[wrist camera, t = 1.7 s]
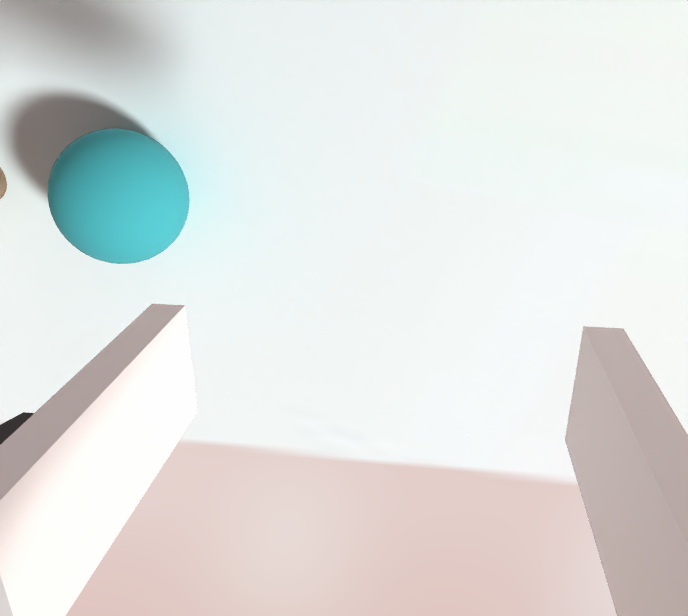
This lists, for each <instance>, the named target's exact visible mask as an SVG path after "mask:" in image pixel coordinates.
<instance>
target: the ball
mask: <svg viewBox="0 0 688 616" xmlns="http://www.w3.org/2000/svg"><path fill="white" fill-rule="evenodd" d="M48 201H49V207H50V211H51V214H52V217H53V219H54V221H55V223H56V225H57V227H58V229H59V230H60V232H61V233H62V234H63V235H64V237H65V238H66V239H67V240H68V241H69V242H70V243H71V244H72V245H73V246H75V247H76V248H77V249H79V250H80V251H82V252H83V253H85V254H87V255H89V256H91V257H93V258H95V259H98V260H101V261H105V262H110V263H117V264H126V263H136V262H140V261H144V260H147V259H150V258H152V257H154V256H156V255H158V254H159V253H161V252H162V251H164V250H165V249H166V248H167V247H169V246H170V245H171V244H172V243H173V242H174V241H175V239H176V238H177V237H178V235H179V234H180V232H181V230H182V228H183V226H184V224H185V221H186V219H187V214H188V209H189V191H188V185H187V182H186V178H185V176H184V174H183V171H182V169H181V167H180V166H179V164H178V162H177V161H176V160H175V158H174V157H173V156H172V155H171V153H170V152H169V151H168V150H167V149H166V148H164V147H163V146H162V145H161V144H160V143H158V142H157V141H155V140H154V139H152V138H150V137H148V136H146V135H144V134H141V133H138V132H135V131H131V130H126V129H116V128H114V129H103V130H98V131H93V132H91V133H88V134H86V135H83V136H81V137H80V138H78V139H76V140H75V141H74V142H72V143H71V144H70V145H69V146H67V147H66V148H65V149H64V151H63V152H62V153H61V154H60V156H59V157H58V159H57V160H56V162H55V163H54V166H53V168H52V170H51V174H50V178H49V182H48Z"/></svg>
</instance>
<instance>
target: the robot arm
mask: <svg viewBox="0 0 688 616" xmlns="http://www.w3.org/2000/svg"><path fill="white" fill-rule="evenodd" d="M197 412H198V407H197V399H196V391H195V383H194V374H193V366H192V358H191V350H190V342H189V334H188V326H187V318H186V310H185V306H184V305H165V304H151V305H150V306H149V307H148V308H147V309H146V310H145V311H144V312H143V313H142V314H141V315H140V316H139V317H137V318H136V319H135V320H134V321H133V322H132V323H131V324H130V325H129V326H128V327H127V328H126V329H125V330H123V331H122V332H121V333H120V334H119V335H118V336H117V337H116V338H115V339H114V340H113V341H112V342H111V343H109V344H108V345H107V346H106V347H105V348H104V349H103V350H102V351H101V352H100V353H99V354H98V355H97V356H96V357H94V358H93V359H92V360H91V361H90V362H89V363H88V364H87V365H86V366H85V367H84V368H83V369H82V370H80V371H79V372H78V373H77V374H76V375H75V376H74V377H73V378H72V379H71V380H70V381H69V382H68V383H66V384H65V385H64V386H63V387H62V388H61V389H60V390H59V391H58V392H57V393H56V394H55V395H54V396H53V397H51V398H50V399H49V400H48V401H47V402H46V403H45V404H44V405H43V406H42V407H41V408H40V409H39V410H37V411H36V412H35V413H24V412H23V413H22V414H20V415H18V416H16V417H14V418H12V419H10V420H9V421H7V422H5V423H3V424H1V425H0V616H65V615H66V614H67V612H68V611H69V609H70V608H71V606H72V605H73V603H74V602H75V600H76V599H77V597H78V595H79V594H80V592H81V591H82V589H83V588H84V586H85V585H86V583H87V582H88V580H89V579H90V577H91V575H92V574H93V572H94V571H95V569H96V568H97V566H98V565H99V563H100V562H101V560H102V558H103V557H104V555H105V554H106V552H107V551H108V549H109V548H110V546H111V545H112V543H113V541H114V540H115V538H116V537H117V535H118V534H119V532H120V531H121V529H122V528H123V526H124V524H125V523H126V522H127V520H128V518H129V517H130V515H131V514H132V512H133V511H134V509H135V508H136V506H137V505H138V503H139V502H140V500H141V498H142V497H143V495H144V494H145V492H146V491H147V489H148V487H149V486H150V485H151V483H152V481H153V480H154V478H155V477H156V475H157V474H158V472H159V471H160V469H161V468H162V466H163V464H164V463H165V461H166V460H167V458H168V457H169V455H170V454H171V452H172V451H173V449H174V448H175V446H176V445H177V443H178V441H179V440H180V438H181V437H182V435H183V434H184V432H185V431H186V429H187V428H188V426H189V425H190V423H191V421H192V420H193V418H194V417H195V415H196V414H197ZM565 441H566V444H567V448H568V451H569V455H570V458H571V461H572V465H573V468H574V471H575V475H576V478H577V482H578V485H579V488H580V491H581V495H582V498H583V502H584V505H585V508H586V511H587V515H588V518H589V522H590V525H591V528H592V532H593V535H594V539H595V542H596V546H597V549H598V552H599V556H600V559H601V562H602V566H603V569H604V573H605V576H606V579H607V583H608V586H609V589H610V593H611V596H612V599H613V603H614V606H615V610H616V613H617V616H688V435H687V433H686V432H685V430H684V428H683V427H682V425H681V423H680V422H679V420H678V418H677V417H676V415H675V413H674V412H673V410H672V408H671V407H670V405H669V403H668V402H667V400H666V398H665V397H664V395H663V393H662V392H661V390H660V388H659V387H658V385H657V384H656V382H655V380H654V379H653V377H652V375H651V374H650V372H649V370H648V369H647V367H646V365H645V364H644V362H643V360H642V359H641V357H640V355H639V354H638V352H637V350H636V349H635V347H634V345H633V344H632V342H631V341H630V339H629V337H628V336H627V334H626V332H625V331H624V329H620V328H601V327H583V333H582V339H581V345H580V351H579V357H578V363H577V369H576V376H575V382H574V388H573V394H572V400H571V406H570V412H569V418H568V425H567V431H566V437H565Z"/></svg>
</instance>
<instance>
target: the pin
mask: <svg viewBox="0 0 688 616" xmlns="http://www.w3.org/2000/svg"><path fill="white" fill-rule="evenodd" d="M6 187H7V183H6V178H5V175H4V173H3V171H2V169H1V168H0V199H1V198H2V197H3V196H4V194H5V192H6Z"/></svg>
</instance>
